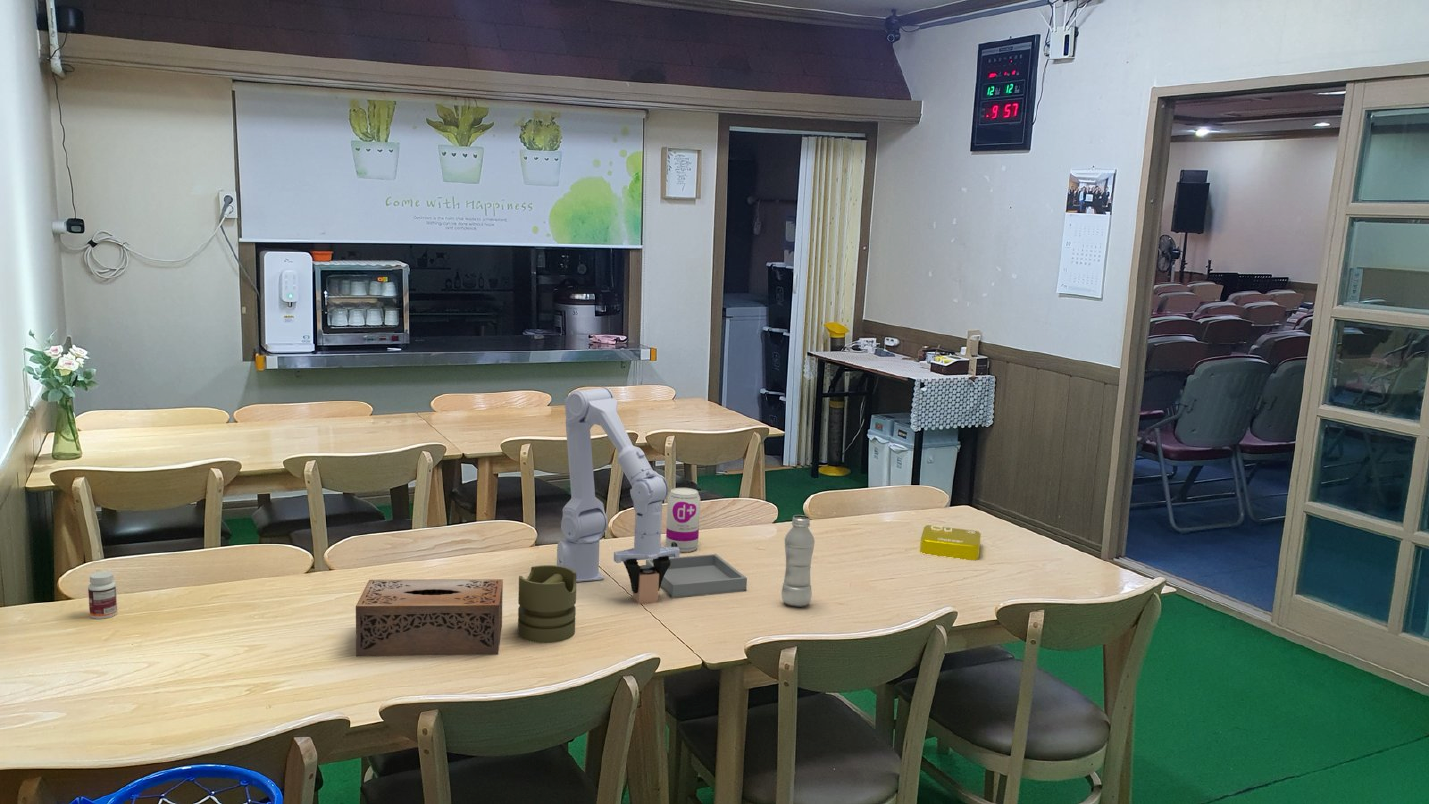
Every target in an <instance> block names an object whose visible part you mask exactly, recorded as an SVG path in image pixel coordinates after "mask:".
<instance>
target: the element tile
mask: <svg viewBox="0 0 1429 804" xmlns="http://www.w3.org/2000/svg"><path fill="white" fill-rule="evenodd" d="M981 537H982V536H981V532H980V531H978V530H973V529H964V528H956V527H946V526H941V525H929V524H928V525H927V524H926V525H925V526H924V527H923V530H922V533H921V537H920V545H919V553H920V552H922V553H925V554H931V555H930V556H932V555H937V556H936V557H940V556H946V557H945V558H948V557H953V558H952V559H956V558H960V559H959V560H964V559H966V560H965V561H978V560H979V559H980V558H979V557H980V547H981ZM922 553H921V554H922ZM925 554H924V555H925Z"/></svg>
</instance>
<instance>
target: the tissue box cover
mask: <svg viewBox="0 0 1429 804" xmlns="http://www.w3.org/2000/svg"><path fill="white" fill-rule="evenodd" d="M503 581H504V579H502V578H495V579H494V578H493V579H492V578H491V579H490V578H489V579H488V578H487V579H486V578H484V579H483V578H482V579H477V578H476V579H473V578H472V579H470V578H469V579H468V578H467V579H465V578H464V579H463V578H462V579H461V578H460V579H454V578H452V579H451V578H450V579H449V578H448V579H440V578H439V579H426V578H425V579H424V578H423V579H369V580H368V581H367V583H366V585H365V587H364V589H363V591H362V593H361V595H360V597H359V599H358V601H357V603H356V604H355V656H356V657H401V656H402V657H408V656H409V657H412V656H415V657H417V656H419V657H420V656H423V657H425V656H477V655H478V656H481V655H482V656H483V655H484V656H485V655H489V656H490V655H491V656H492V655H494V656H495V655H499V654H500V653H499V650H500V645H501V635H502V627H503V588H504V587H503V586H504V585H503V584H504V582H503Z"/></svg>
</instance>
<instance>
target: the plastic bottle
mask: <svg viewBox="0 0 1429 804" xmlns="http://www.w3.org/2000/svg"><path fill="white" fill-rule="evenodd" d="M810 522H811V517H810V516H809V515H805V514H804V515H803V514H795V515H793V516H792V522H791V525H792V527H791V529H790V530H789V531H788V532H786V533H787V534H785V538H784V550H785V571H784V572H785V573H784V578H783V583H782V586H781V599H782V601H783V603H785V604H786V605H788V606H791V607H798V608H799V607H805V606H808V605H809V603H810V602H811V600H812V596H813V591H812V584H811V568H812V567H811V566H812V559H813V558H812V557H813V554H814V553H813V552H814V548H815V542H816V541H815V537H814V535H813V533H812V531H811V530H810V529H809V527H811V523H810Z"/></svg>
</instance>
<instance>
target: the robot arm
mask: <svg viewBox="0 0 1429 804" xmlns="http://www.w3.org/2000/svg"><path fill="white" fill-rule="evenodd" d="M564 408H565V429H566V430H565V431H566V444H567V446H566V447H567V459H568V471H569V484H570V486H569V487H570V496H571V497H570V500H569V501H568V502H567V503H566V504H565V505H564V506H563V508H562V519H561V521H560V527H561V528H560V530H561V533H562V535H563V536H564V538H565V539H563V540H559V541H557V542H558V543H557V548H556V566H562V567H567V568H570V569H572V570H574V571H575V572H576V583H577V582H578V583H580V582H590V581H601V580H604V579H605V577H604V575H603V574H602V573H601V572H600V571H599V570H600V569H599V567H600V541H601V540H600V539H602V538H603V534H604V533H605V532H606V531H607V529H608V523H609V522H608V520H609V519H608V517H607V514H606V511H605V506H604V503H603V501H601V500H600V499H599V498H597V497H596V489H595V479H594V465H593V464H594V463H593V452H592V451H593V448H592V437H591V435H592V434H591V428H593V426H594V425H597V426H600V427H601V428H602V430H603V431H604V433H605V434H606V436H607V437H608V439H609V440H610V442H611V443H612V445H613V446H614V447H615V449H616V450H617V452H618V457H617V462H618V464H619V466H620V468H621V470H622V471H623V473H624V475H625V476H626V478H627V481H629V482H628V483H629V484H630V485H631V488H630V489H629V494H630V497H631V500H632V503H633V510H634V512H635V513H634V514H635V515H634V516H635V518H634V536H633V537H634V539H633V540H634V543H633V544H634V545H633V547H632V548H628V549H624V550H619V551H618V550H617V551H613V561H614V562H615V563H616V564H621V563H623V564H624V567H625V569H626V572H627V574H628V578H629V581H630V587H631V592H632V593H633V592H634V593H638V577H639V571H640V566H641V565H640V564H639V561H643V560H645V561H646V560H650V559H653V565H654V567H655V570H656V571H657V572H658V573H659V590H658V592H660V588H661V587H660V586H661V583H662V580H663V577H664V575H665V573H666V571H667V569H668V568H669V566H670V563H671V561H670V560H669V558H679V557H680V554H681V552H680V549H678V548H677V547H667V546H661V540H662V539H661V538H662V520H663V519H662V517H663V516H662V515H663V501H665V500H666V498H668V495H669V485H668V482H667V480H666V478H665V477H664V476H663V475H661V474H659V473H658V472H657V471H655V470H653V467H652V465H651V464H650V462H649V461H648V459H647V456H646V454H645V452H644V450H642V449H641V448H640V447H639V446H635V445H633V443H632V441H631V439H630V437H629V434H628V433H627V430H626V428H625V426H624V424H623V422H622V420H621V418H620V416H619V413H618V410H617V409H618V401H617V399H616V398H615V395H614V393H613V391H612V390H611V388H608V387H605V386H603V387H599V388H591V389H589V388H588V389H583V390H579V389H576V390H573V391H571V392H570V393H569V394H568V396H566V398H565V399H564Z"/></svg>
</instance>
